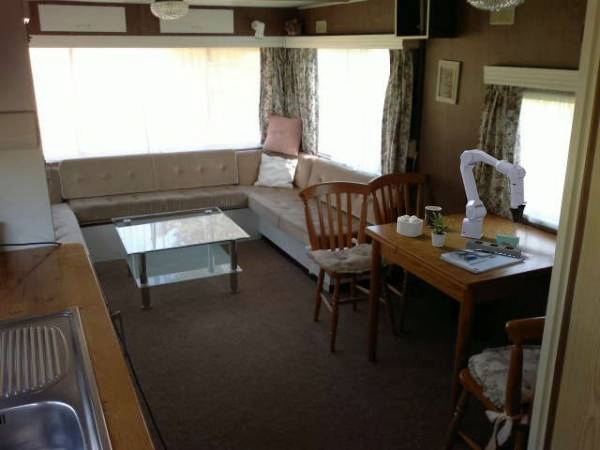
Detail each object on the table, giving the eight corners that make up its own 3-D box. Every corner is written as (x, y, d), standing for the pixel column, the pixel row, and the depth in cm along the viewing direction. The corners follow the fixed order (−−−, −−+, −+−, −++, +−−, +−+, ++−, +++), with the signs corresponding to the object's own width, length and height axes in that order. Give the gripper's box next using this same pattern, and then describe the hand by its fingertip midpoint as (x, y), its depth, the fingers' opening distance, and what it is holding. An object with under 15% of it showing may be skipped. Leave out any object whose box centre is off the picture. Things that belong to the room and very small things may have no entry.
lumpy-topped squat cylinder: (412, 237, 277) (413, 221, 274) (391, 231, 286) (393, 215, 283) (424, 234, 283) (425, 217, 281) (404, 228, 293) (405, 212, 290)
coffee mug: (427, 222, 303) (428, 205, 300) (442, 225, 298) (444, 208, 296) (418, 227, 294) (420, 209, 291) (433, 230, 289) (435, 212, 286)
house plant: (415, 241, 270) (417, 209, 266) (438, 238, 275) (441, 207, 271) (432, 250, 258) (435, 217, 253) (456, 247, 263) (459, 214, 258)
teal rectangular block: (495, 245, 267) (496, 235, 266) (496, 244, 270) (498, 233, 268) (517, 249, 262) (518, 238, 261) (518, 247, 265) (519, 237, 263)
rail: (465, 248, 262) (466, 242, 261) (469, 245, 267) (469, 239, 266) (518, 258, 250) (519, 251, 250) (521, 254, 255) (522, 248, 255)
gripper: (523, 194, 251) (524, 223, 253) (528, 190, 263) (529, 218, 265) (507, 194, 254) (508, 223, 257) (513, 191, 267) (514, 218, 269)
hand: (518, 221), depth 261 cm, fingers open, 7 cm apart
